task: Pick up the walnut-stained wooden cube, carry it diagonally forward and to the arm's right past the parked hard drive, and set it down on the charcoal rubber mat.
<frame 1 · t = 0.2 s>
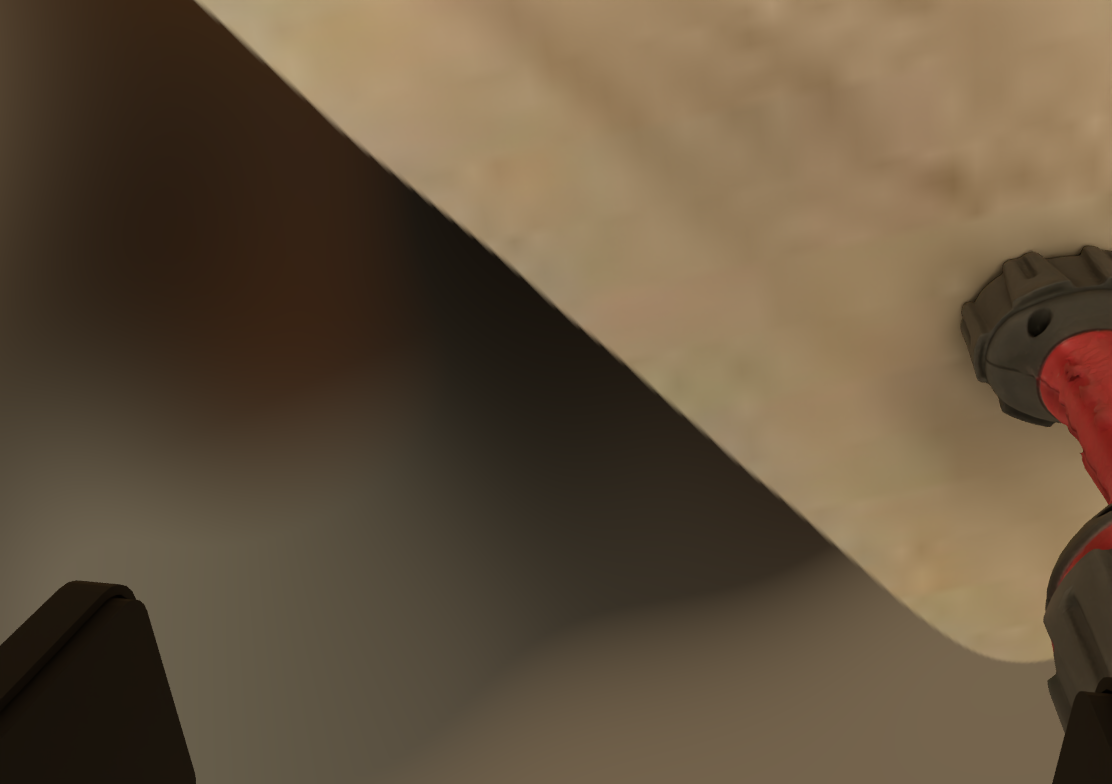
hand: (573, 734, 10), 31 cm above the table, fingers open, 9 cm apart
flashlight: (1023, 310, 38), on the table
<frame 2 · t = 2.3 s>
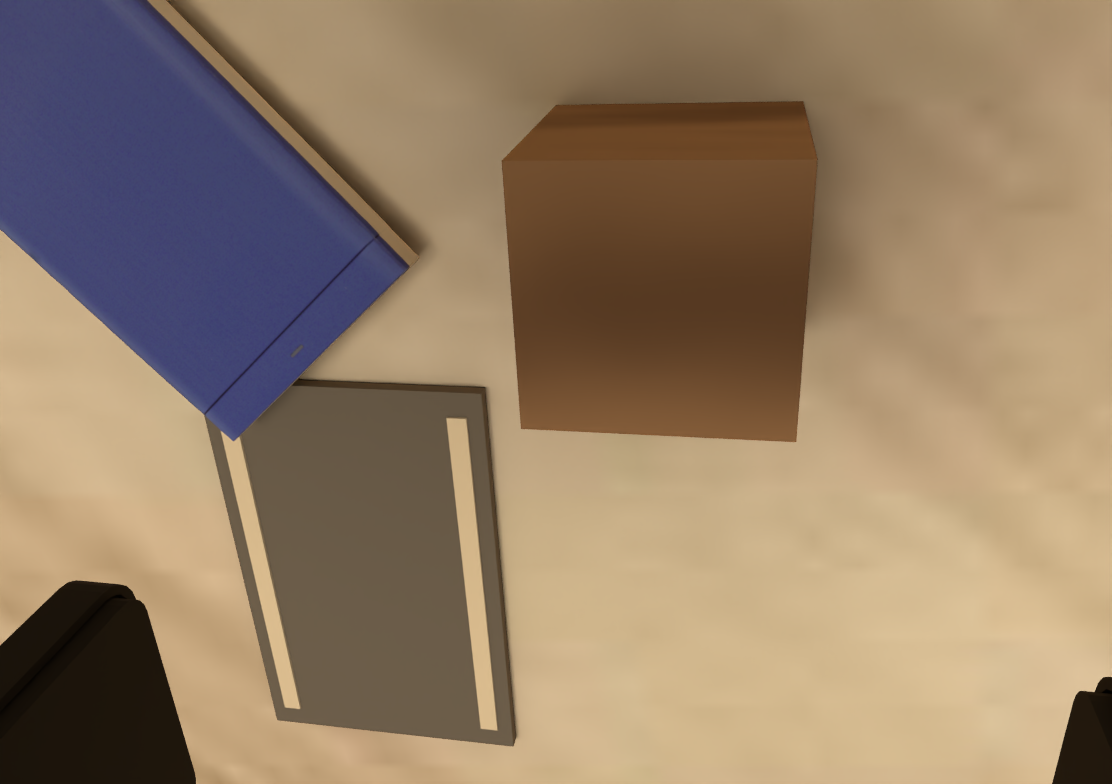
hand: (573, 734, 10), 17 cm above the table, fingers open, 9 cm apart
cube: (675, 221, 25), on the table
mat: (370, 570, 32), on the table
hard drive: (173, 184, 27), on the table, touching mat
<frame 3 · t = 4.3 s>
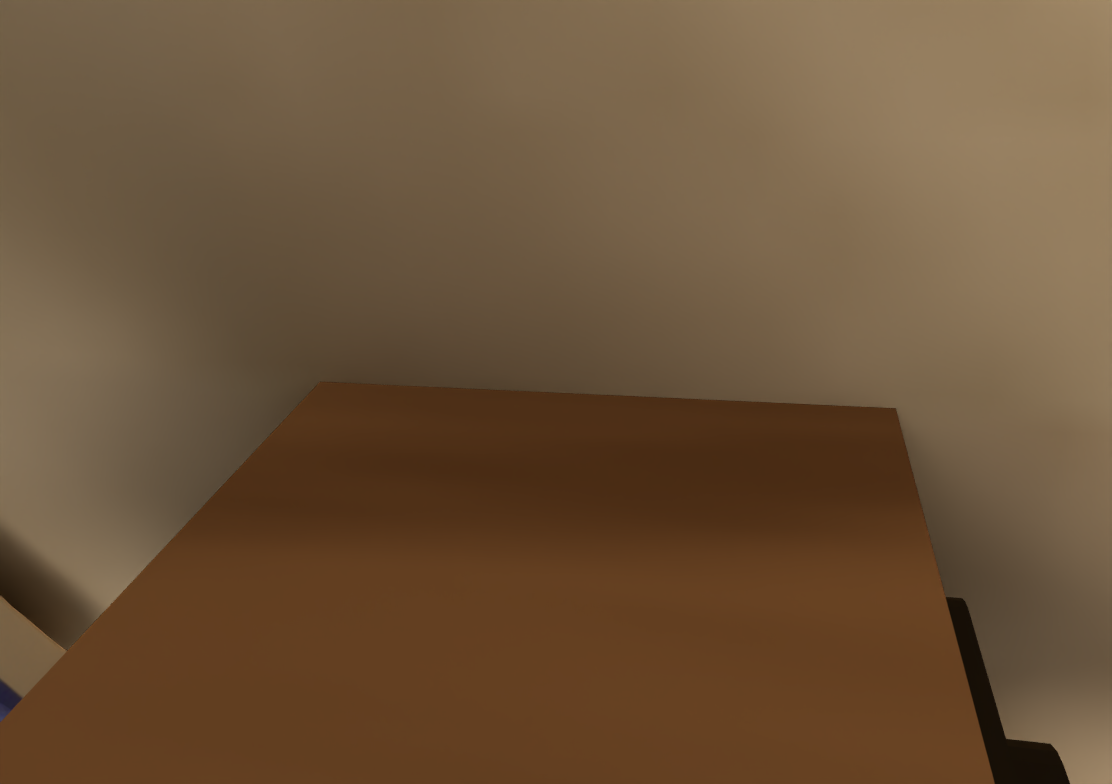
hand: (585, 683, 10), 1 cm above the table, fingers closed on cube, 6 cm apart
cube: (598, 622, 11), on the table, touching gripper
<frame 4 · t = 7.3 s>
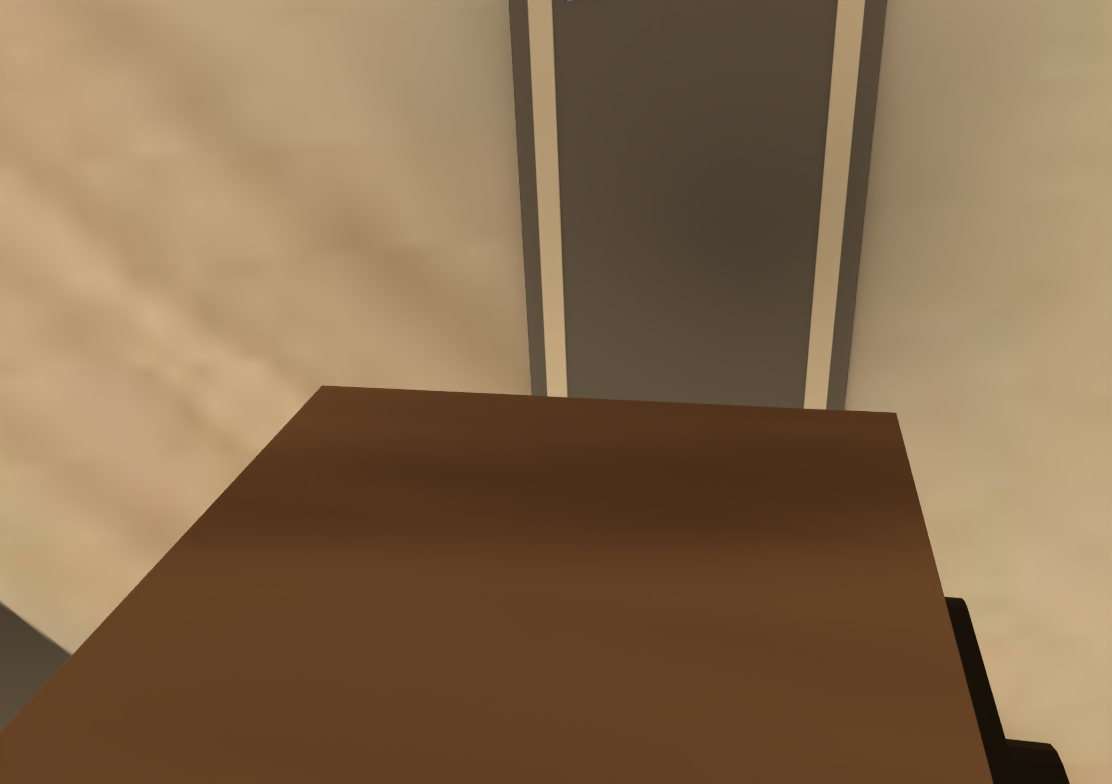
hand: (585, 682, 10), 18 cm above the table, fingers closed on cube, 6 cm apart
cube: (599, 626, 11), point 17 cm above the table, touching gripper
mat: (687, 222, 26), on the table
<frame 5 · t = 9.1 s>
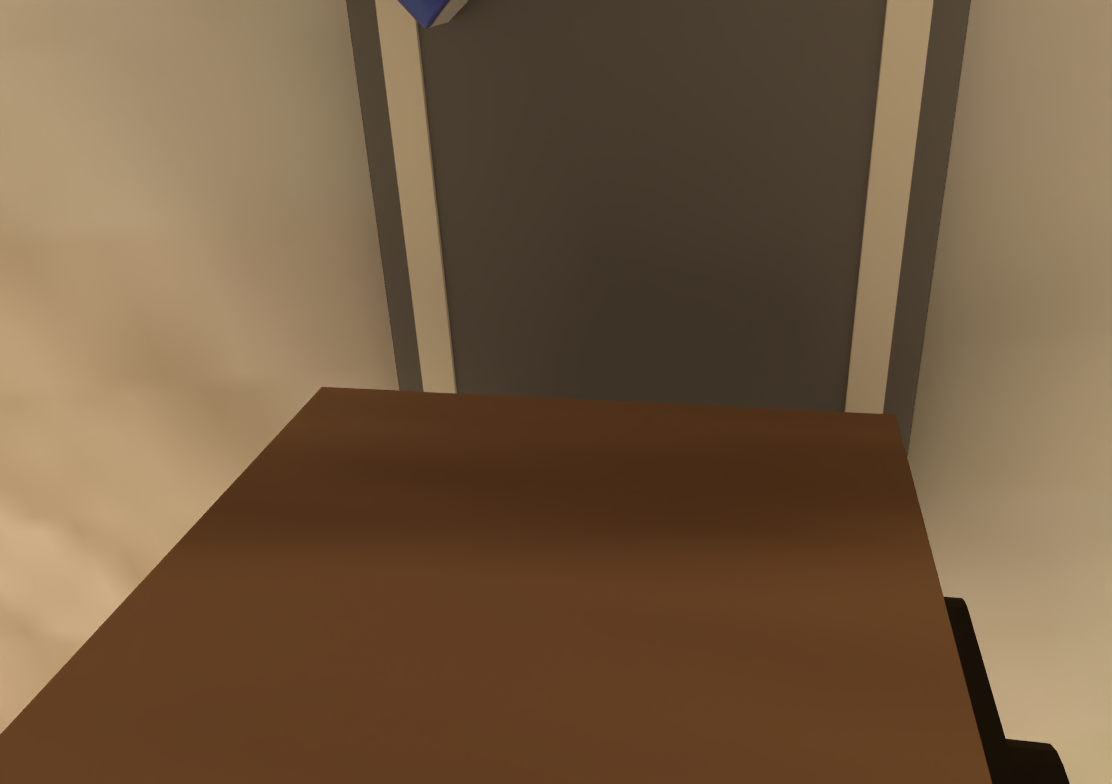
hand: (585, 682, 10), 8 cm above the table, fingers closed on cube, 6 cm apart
cube: (599, 627, 11), point 7 cm above the table, touching gripper
mat: (645, 358, 17), on the table
when the fingers open (3 cm above the table, at t = 10.6 s): cube drops 1 cm, resting on mat.
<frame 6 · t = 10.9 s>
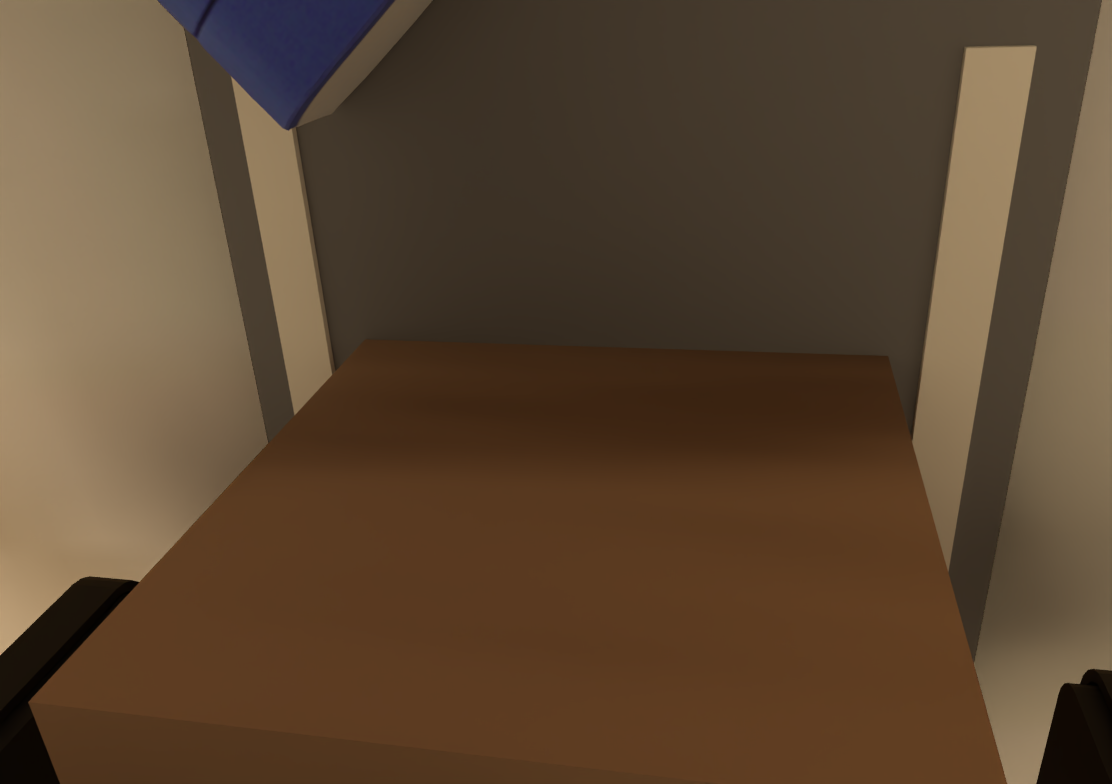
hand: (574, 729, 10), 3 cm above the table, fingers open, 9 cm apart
cube: (618, 562, 12), resting on mat
mat: (617, 545, 13), on the table
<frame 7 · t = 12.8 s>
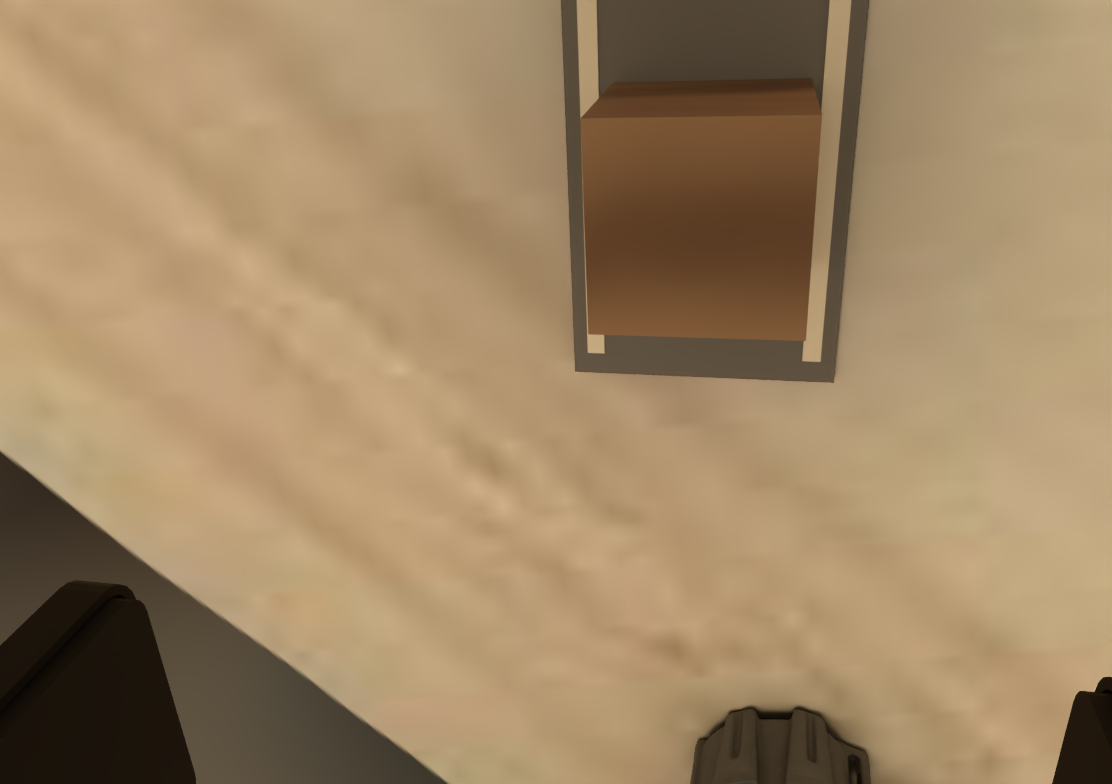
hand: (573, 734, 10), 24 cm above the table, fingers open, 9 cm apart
cube: (708, 178, 31), resting on mat
mat: (706, 175, 31), on the table
flashlight: (751, 746, 42), on the table
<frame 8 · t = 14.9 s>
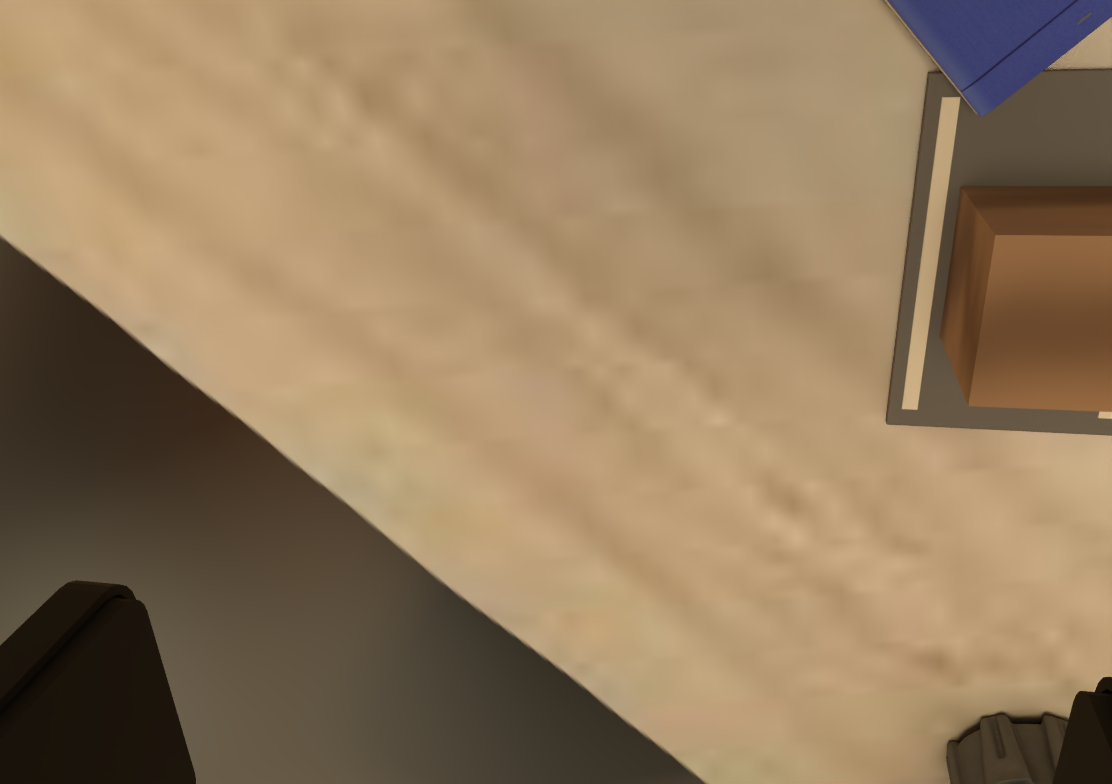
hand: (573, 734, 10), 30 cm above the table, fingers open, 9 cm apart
cube: (1034, 265, 36), resting on mat
mat: (1030, 262, 36), on the table
flashlight: (996, 747, 47), on the table
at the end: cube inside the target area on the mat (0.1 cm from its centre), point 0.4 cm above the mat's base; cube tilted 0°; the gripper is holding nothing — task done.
